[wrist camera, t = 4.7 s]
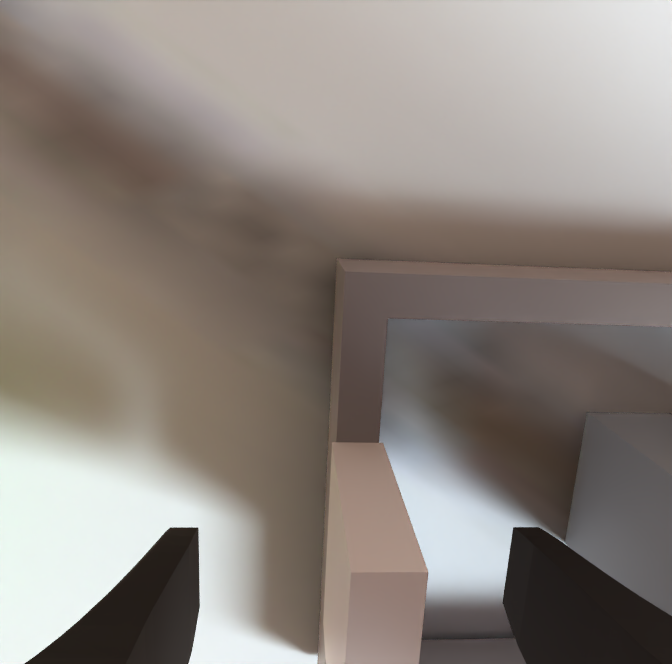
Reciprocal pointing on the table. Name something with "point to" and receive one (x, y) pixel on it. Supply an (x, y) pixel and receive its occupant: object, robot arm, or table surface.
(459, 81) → the table surface
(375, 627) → the grey square tray
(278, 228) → the table surface
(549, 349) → the table surface
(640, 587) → the grey block
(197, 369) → the table surface
